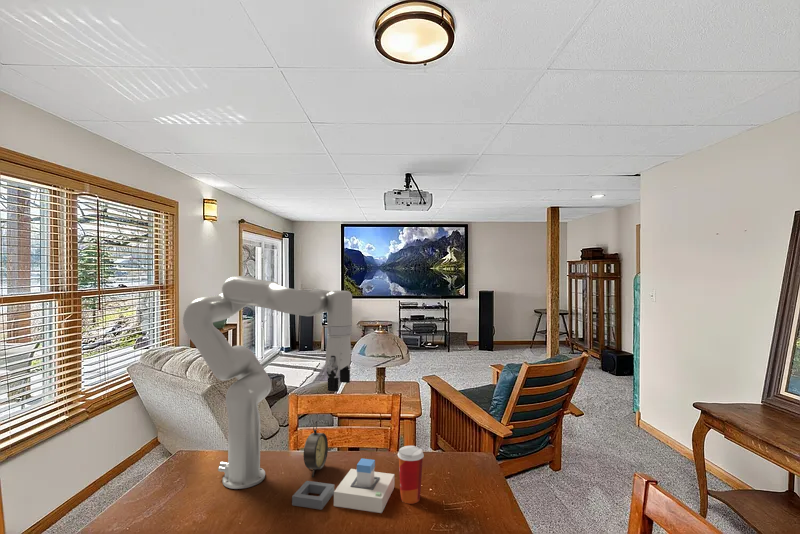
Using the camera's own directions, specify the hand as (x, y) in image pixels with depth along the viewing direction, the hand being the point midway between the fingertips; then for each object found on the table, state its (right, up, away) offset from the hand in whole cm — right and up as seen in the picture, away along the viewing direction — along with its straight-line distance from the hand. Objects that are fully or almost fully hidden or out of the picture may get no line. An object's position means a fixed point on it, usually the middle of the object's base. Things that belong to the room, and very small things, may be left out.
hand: (339, 386), depth 130 cm
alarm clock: (-9, -31, +9) cm, 33 cm away
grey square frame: (-6, -30, -8) cm, 32 cm away
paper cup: (+22, -31, -7) cm, 38 cm away
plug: (+9, -30, -6) cm, 32 cm away
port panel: (+9, -30, -6) cm, 32 cm away
